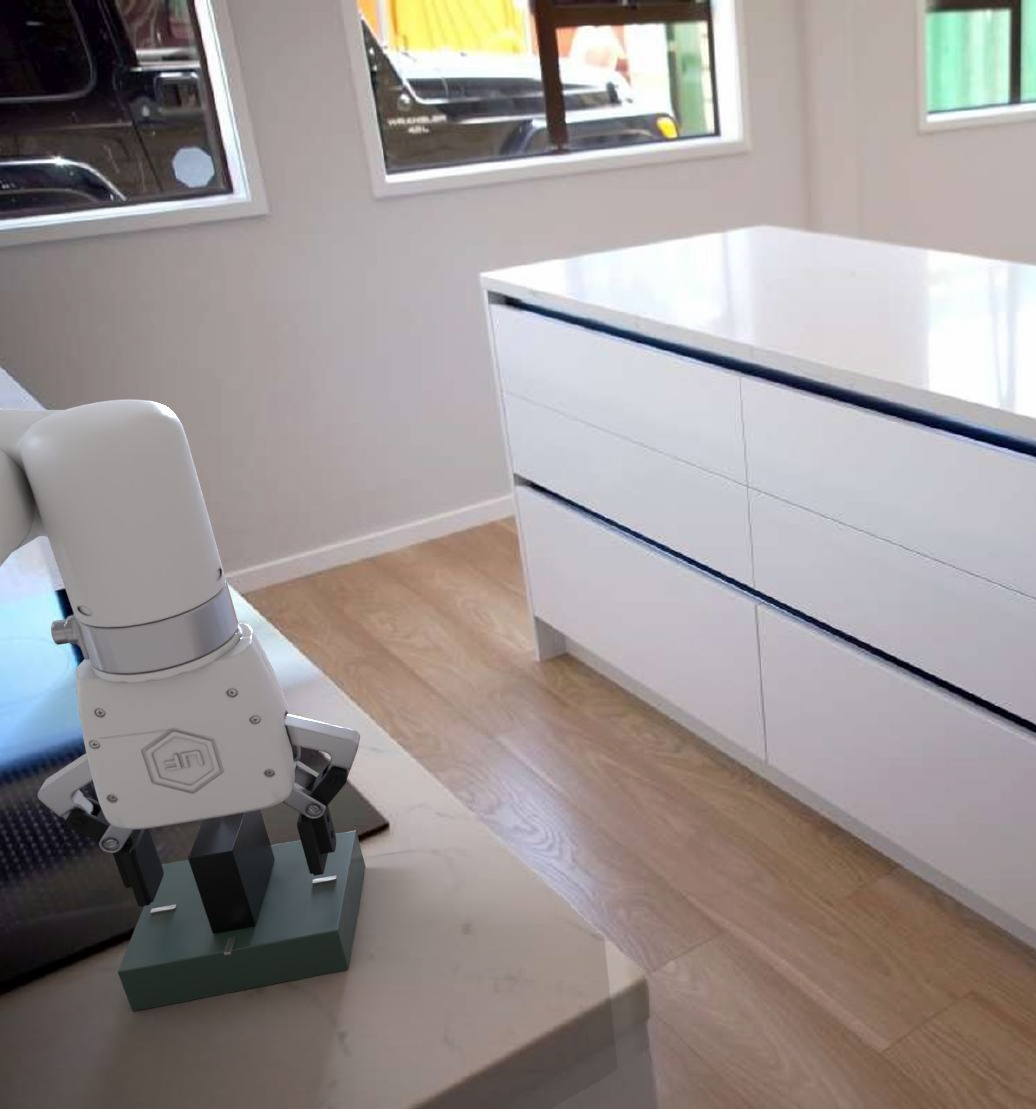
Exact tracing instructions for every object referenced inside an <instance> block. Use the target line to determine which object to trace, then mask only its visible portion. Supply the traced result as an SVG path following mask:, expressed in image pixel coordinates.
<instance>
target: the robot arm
mask: <svg viewBox="0 0 1036 1109" xmlns="http://www.w3.org/2000/svg"><path fill="white" fill-rule="evenodd" d="M180 420H181V419H179V418H178V416H177V415H176V413H175V412H174V411H173V410H172V409H170V408H169V407H167V406H166V405H164V404H161V403H159V402H156V401H152V400H146V399H145V400H144V399H132V398H131V399H129V398H128V399H127V398H126V399H113V400H104V401H96V402H92V403H87V404H82V405H78V406H73V407H70V408H66V409H27V408H26V409H25V408H5V407H0V567H1V566H3V564H4V563H5V562H6V561H7V560H8V558H9V557H10V556H11V555H12V554H13V553H14V552H15V551H17V550H19V549H21V548H22V547H24V546H26V545H27V544H29V543H31V542H32V541H33V540H36V539H37V538H38V537H46V538H47V540H48V541H49V545H50V549H51V551H52V554H53V558H54V561H55V563H56V566H57V568H58V572H59V574H60V578H61V580H62V583H63V586H64V589H65V593H66V595H67V598H68V601H69V603H70V606H71V609H72V613H73V614H72V615H69V616H67V617H66V618H65V619H58V620H53V621H52V622H51V626H50V634H51V638H52V640H53V642H54V644H55V645H60V646H61V645H66V644H70V645H72V646H76V645H77V646H78V647H79V648H80V650H81V653H82V656H83V658H84V659H83V660H82V662H80V663H79V665H78V666H77V667H76V668H75V673H74V674H75V690H76V699H77V708H78V715H79V721H80V726H81V727H80V728H81V731H82V732H81V733H82V738H83V739H82V740H83V743H84V744H83V745H84V747H85V748H84V749H85V753H84V754H82V755H81V756H80V757H78V758H76V759H75V760H73V761H72V762H70V763H68V764H67V765H66V766H64V767H63V768H60V770H58V771H56V772H55V773H53V774H52V775H50V776H49V777H47V778H46V779H45V780H44V782H43V784H42V785H41V787H40V788H39V789H38V792H37V799H38V800H39V801H40V802H41V803H42V804H44V805H45V806H46V807H47V808H49V809H50V810H51V811H52V812H53V813H54V814H55V815H56V816H57V817H59V818H61V817H62V819H64V820H65V823H66V824H65V825H66V826H67V828H69V830H71V831H74V832H76V833H78V834H80V835H82V836H84V837H87V838H88V839H91V840H93V841H96V842H97V843H98V845H99V848H100V849H101V851H102V852H104V853H106V854H112V855H113V858H114V861H115V864H116V868H117V870H118V872H119V876H120V878H121V881H122V884H123V886H124V887H125V889H132V893H133V895H134V898H135V901H136V904H137V906H138V908H139V907H140V908H141V907H144V906H147V905H150V903H151V902H153V901H154V899H155V896H156V893H157V891H158V888H159V886H160V883H161V881H162V878H163V875H164V871H163V867H162V862H161V859H160V856H159V853H158V850H157V847H156V844H155V841H154V838H153V834H152V832H151V829H155V828H161V827H167V826H168V827H169V826H172V825H173V826H175V825H180V824H185V823H186V824H187V823H192V822H198V821H203V820H204V819H210V818H216V817H222V816H228V815H234V814H240V813H245V812H251V811H256V810H265V809H269V808H272V807H275V806H277V805H279V804H281V803H283V804H285V805H286V806H288V807H290V808H292V809H293V810H294V811H296V812H297V813H299V814H298V817H297V822H296V828H297V831H298V836H299V840H301V843H302V847H303V850H304V854H305V857H306V861H307V865H308V868H309V872H310V874H313V875H314V876H316V875H321V874H324V870H325V865H326V861H327V856H328V853H331V852H335V849H336V834H337V833H336V829H335V826H334V823H333V819H332V815H331V812H330V807H329V804H330V803H331V802H332V801H333V800H334V798H335V797H336V796H337V795H338V794H339V792H340V791H341V790H342V789H343V788H344V786H345V785H346V784H347V782H348V778H349V774H350V772H351V770H352V766H353V764H354V761H355V758H356V756H357V753H358V750H359V746H360V739H361V734H360V733H359V731H358V730H355V729H353V728H347V727H343V726H340V725H335V724H331V723H326V722H323V721H319V720H314V719H311V718H307V717H302V716H298V715H295V714H292V713H291V710H290V707H289V705H288V701H287V699H286V696H285V693H284V691H283V689H282V686H281V683H280V681H279V679H278V676H277V675H276V671H275V670H274V667H273V665H272V663H271V662H270V659H269V657H268V655H267V653H266V651H265V649H264V647H263V646H262V644H261V642H260V641H259V638H258V636H257V635H256V634H255V632H254V630H253V629H252V626H250V625H249V624H248V623H243V622H242V623H240V622H238V617H237V613H236V610H235V606H234V602H233V599H232V596H231V592H230V587H229V584H228V581H227V578H226V575H225V572H224V568H223V564H222V561H221V556H220V553H219V549H218V546H217V542H216V538H215V534H214V530H213V527H212V523H211V519H210V516H209V512H208V509H207V506H206V502H205V497H204V494H203V491H202V487H201V484H200V480H199V477H198V473H197V469H196V465H195V461H194V458H193V455H192V452H191V451H192V450H191V447H190V444H189V440H188V437H187V434H186V432H185V428H184V426H183V423H182V422H181V421H180ZM301 748H305V749H309V750H312V751H317V752H321V753H325V754H328V755H329V756H330V759H329V761H328V762H327V764H326V765H325V766H324V767H323V768H322V770H321V771H320V772H317V771H316V770H314V769H312V768H310V767H309V766H308V765H306V764H304V763H303V762H301V761H300V760H301V756H302V750H301ZM90 783H93V787H94V790H95V794H96V798H97V800H98V801H97V800H95V799H93V798H91V797H85V796H84V793H83V792H82V791H81V790H80V789H82V788H84V787H85V786H87V785H88V784H90Z"/></svg>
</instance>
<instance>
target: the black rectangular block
mask: <svg viewBox="0 0 1036 1109" xmlns="http://www.w3.org/2000/svg"><path fill="white" fill-rule="evenodd" d="M261 810H262V809H261ZM261 810H256V811H251V812H245V813H240V814H234V815H228V816H222V817H216V818H210V819H204V820H201V821H202V822H201V824H200V827H199V829H198V831H197V834H196V836H195V839H194V841H193V844H192V846H191V850H190V852H189V854H188V857H187V860H189V863H190V866H191V869H192V872H193V875H194V878H195V881H196V884H197V887H198V891H199V894H200V897H201V900H202V903H203V906H204V909H205V912H206V915H207V918H208V921H209V924H210V927H211V930H212V933H213V934H215V933H220V932H226V931H231V930H237V929H242V928H248V927H253V926H256V922H257V919H258V915H259V912H260V908H261V905H262V902H263V898H264V895H265V891H266V888H267V884H268V881H269V877H270V874H271V870H272V867H273V864H274V860H275V858H274V855H273V851H272V848H271V842H270V838H269V835H268V830H267V828H266V825H265V821H264V817H263V813H262V811H261Z"/></svg>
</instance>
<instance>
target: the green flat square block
mask: <svg viewBox="0 0 1036 1109" xmlns="http://www.w3.org/2000/svg"><path fill="white" fill-rule="evenodd" d="M357 832H358V831H356V830H351V831H345V832H339V833H335V834H336V849H335V852H331V853H328V856H327V861H326V865H325V870H324V874H321V875H316V876H314V875H313V874H310V872H309V868H308V865H307V861H306V857H305V854H304V850H303V847H302V843H301V839H299V840H294V841H288V842H283V843H276V844H272V845H271V848H272V851H273V855H274V858H275V860H274V864H273V867H272V870H271V874H270V877H269V881H268V884H267V888H266V891H265V895H264V898H263V902H262V905H261V908H260V912H259V915H258V919H257V922H256V926H253V927H248V928H242V929H237V930H231V931H226V932H220V933H215V934H213V933H212V930H211V927H210V924H209V921H208V918H207V915H206V912H205V909H204V906H203V903H202V900H201V897H200V894H199V891H198V887H197V884H196V881H195V878H194V875H193V872H192V869H191V866H190V863H189V860H188V859H186V860H180V861H173V862H167V863H163V864H162V863H161V864H162V867H163V871H164V875H163V878H162V881H161V883H160V886H159V888H158V891H157V893H156V896H155V899H154V901H153V902H151V903H150V905H147V906H143V908H142V910H141V912H140V915H139V918H138V920H137V923H136V925H135V927H134V929H133V932H132V935H131V938H130V940H129V942H128V945H127V946H126V947H127V948H126V949H125V951H124V952H125V953H124V955H123V957H122V959H121V963H120V965H119V967H118V970H117V974H118V978H119V980H120V982H121V985H122V988H123V991H124V993H125V996H126V998H127V1001H128V1004H129V1006H130V1010H131V1011H132V1012H137V1011H141V1010H146V1009H151V1008H157V1007H162V1006H167V1005H173V1004H178V1003H183V1002H187V1001H193V1000H198V999H203V998H208V997H214V996H218V995H219V996H220V995H224V994H230V993H234V992H240V991H244V990H250V989H256V988H259V987H264V986H269V985H275V984H280V983H286V982H291V981H296V980H300V979H306V978H312V977H317V976H320V975H327V974H332V973H335V972H336V973H337V972H342V971H346V970H347V971H348V970H349V968H350V961H351V955H352V950H353V943H354V937H355V931H356V925H357V919H358V913H359V907H360V903H361V902H360V901H361V896H362V890H363V883H364V877H365V871H366V862H365V859H364V855H363V851H362V848H361V842H360V841H359V836H358V833H357Z"/></svg>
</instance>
